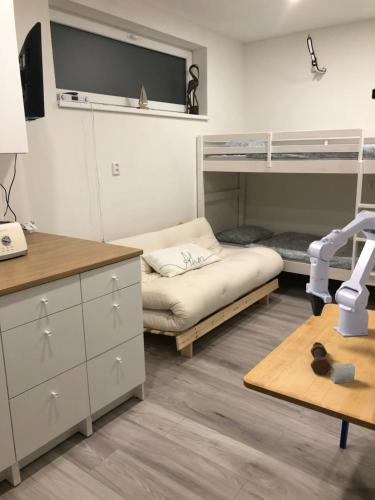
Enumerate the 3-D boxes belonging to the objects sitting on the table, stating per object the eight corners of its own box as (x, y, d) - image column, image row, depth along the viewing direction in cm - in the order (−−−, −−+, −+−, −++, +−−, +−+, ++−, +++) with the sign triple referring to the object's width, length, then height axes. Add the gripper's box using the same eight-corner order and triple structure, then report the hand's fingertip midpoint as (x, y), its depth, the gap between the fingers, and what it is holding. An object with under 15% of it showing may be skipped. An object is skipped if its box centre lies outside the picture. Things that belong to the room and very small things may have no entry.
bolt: (319, 356, 133) (322, 379, 119) (306, 348, 134) (307, 370, 120) (329, 343, 132) (334, 364, 118) (316, 334, 132) (319, 355, 118)
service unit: (350, 377, 118) (351, 363, 116) (354, 381, 115) (355, 367, 114) (330, 379, 117) (331, 364, 116) (333, 383, 115) (335, 368, 114)
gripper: (298, 271, 142) (297, 308, 145) (317, 284, 128) (315, 325, 131) (318, 270, 142) (315, 307, 146) (338, 283, 129) (335, 323, 132)
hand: (316, 315), depth 138 cm, fingers closed
